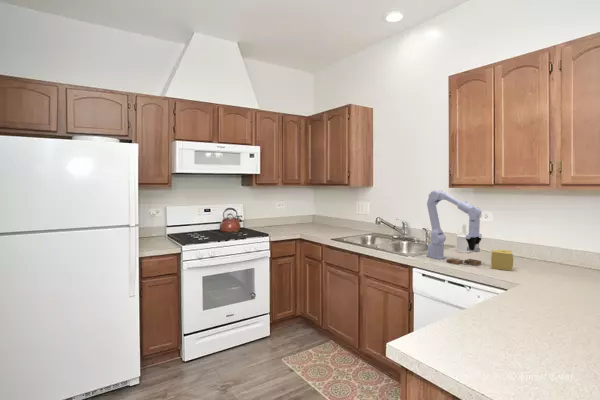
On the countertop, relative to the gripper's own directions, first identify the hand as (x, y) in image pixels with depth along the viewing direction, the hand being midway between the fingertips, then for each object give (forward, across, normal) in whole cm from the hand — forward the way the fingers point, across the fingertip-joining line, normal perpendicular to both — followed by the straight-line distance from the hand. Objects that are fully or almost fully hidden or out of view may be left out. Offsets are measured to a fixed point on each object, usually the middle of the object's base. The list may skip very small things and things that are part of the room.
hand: (473, 249), depth 201 cm
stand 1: (+9, -8, +7) cm, 14 cm away
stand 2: (+9, 0, 0) cm, 9 cm away
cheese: (+9, +4, -14) cm, 18 cm away
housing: (+1, 0, 0) cm, 1 cm away
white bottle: (+9, +30, +22) cm, 39 cm away
